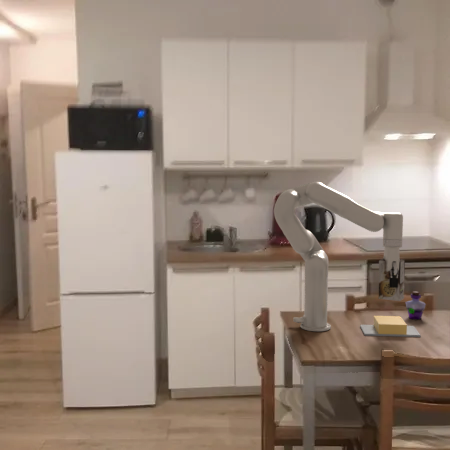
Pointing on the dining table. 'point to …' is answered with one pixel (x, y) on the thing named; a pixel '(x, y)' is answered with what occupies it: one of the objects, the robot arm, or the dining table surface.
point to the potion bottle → (415, 306)
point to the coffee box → (384, 279)
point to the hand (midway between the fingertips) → (391, 284)
